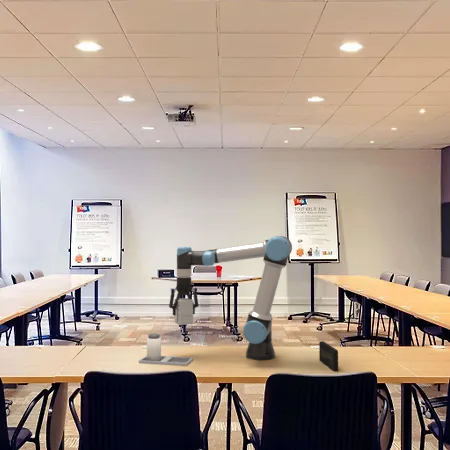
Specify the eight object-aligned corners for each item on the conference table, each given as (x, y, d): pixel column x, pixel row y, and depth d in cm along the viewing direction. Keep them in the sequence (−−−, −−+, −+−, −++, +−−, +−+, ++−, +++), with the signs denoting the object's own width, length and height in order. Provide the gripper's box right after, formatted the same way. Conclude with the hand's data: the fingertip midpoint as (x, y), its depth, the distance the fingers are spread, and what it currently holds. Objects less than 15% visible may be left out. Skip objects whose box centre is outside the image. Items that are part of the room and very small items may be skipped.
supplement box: (187, 321, 267) (187, 297, 267) (193, 324, 260) (193, 299, 260) (174, 322, 264) (174, 298, 264) (179, 325, 257) (179, 300, 257)
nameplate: (338, 371, 239) (338, 350, 239) (334, 372, 238) (334, 350, 238) (322, 360, 259) (322, 340, 259) (319, 360, 259) (319, 341, 259)
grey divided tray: (193, 362, 255) (193, 357, 255) (186, 368, 244) (186, 363, 244) (147, 359, 261) (147, 355, 261) (138, 365, 249) (138, 360, 249)
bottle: (162, 359, 256) (163, 333, 256) (158, 363, 250) (158, 336, 250) (149, 358, 258) (149, 332, 258) (144, 362, 251) (144, 335, 251)
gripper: (200, 275, 269) (200, 318, 269) (162, 276, 262) (162, 321, 262) (205, 277, 262) (205, 321, 262) (166, 278, 255) (165, 323, 255)
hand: (183, 321), depth 262 cm, fingers closed on supplement box, 8 cm apart
